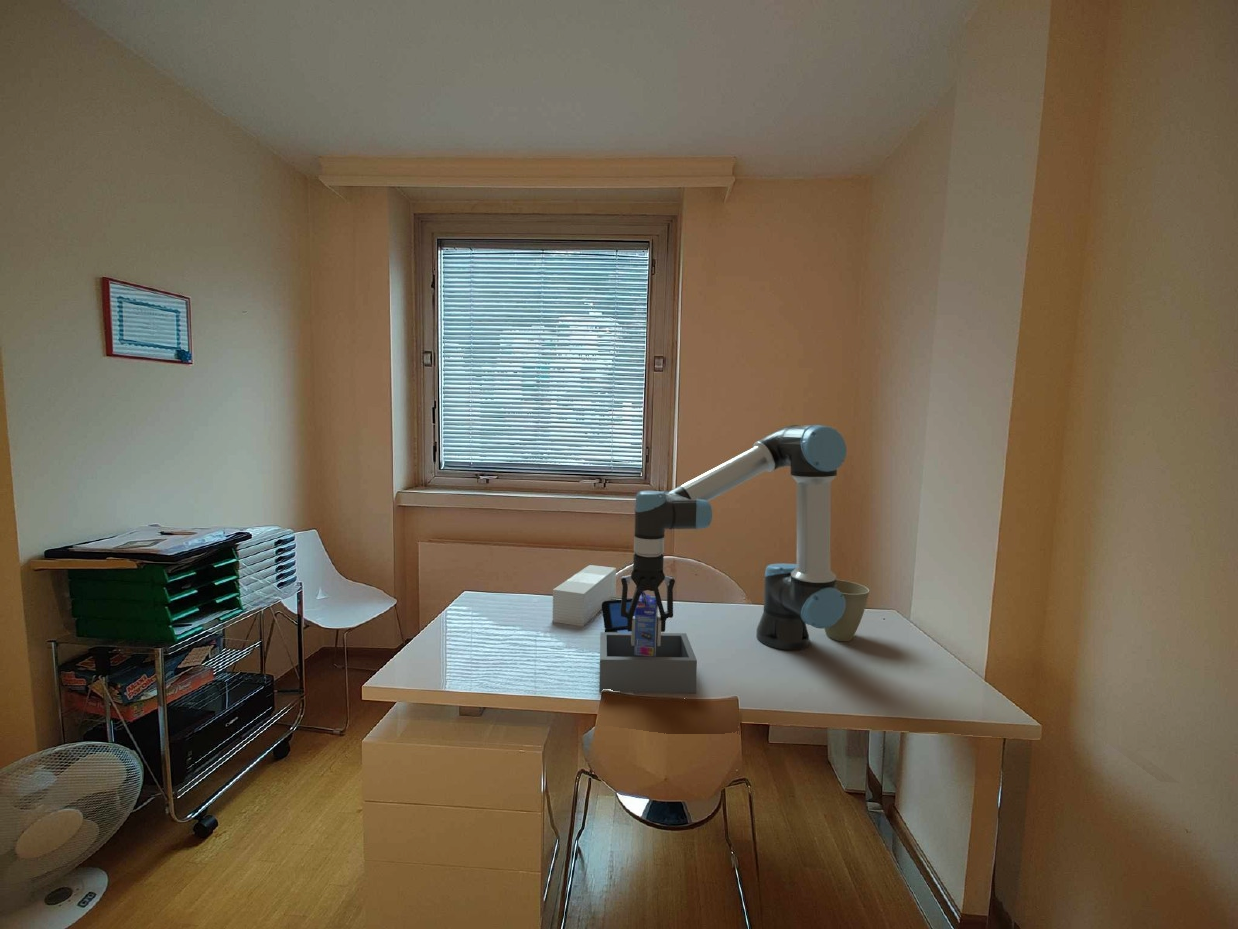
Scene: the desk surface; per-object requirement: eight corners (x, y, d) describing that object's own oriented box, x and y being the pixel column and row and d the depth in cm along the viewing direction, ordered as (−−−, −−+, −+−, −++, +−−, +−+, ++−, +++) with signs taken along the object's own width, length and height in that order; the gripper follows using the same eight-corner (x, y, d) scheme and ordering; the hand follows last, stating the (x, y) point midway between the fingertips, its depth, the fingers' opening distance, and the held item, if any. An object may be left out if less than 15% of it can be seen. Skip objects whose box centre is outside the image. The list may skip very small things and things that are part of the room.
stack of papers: (583, 627, 160) (583, 593, 160) (552, 622, 164) (552, 589, 163) (615, 596, 191) (616, 567, 190) (588, 592, 194) (589, 564, 193)
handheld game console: (614, 648, 146) (615, 616, 145) (599, 630, 158) (600, 601, 158) (663, 641, 151) (664, 611, 151) (646, 624, 164) (646, 596, 163)
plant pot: (860, 651, 147) (863, 597, 146) (807, 637, 156) (810, 586, 155) (870, 635, 159) (874, 585, 158) (821, 623, 168) (824, 576, 167)
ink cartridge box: (635, 639, 134) (638, 585, 133) (656, 641, 133) (660, 587, 132) (632, 655, 124) (636, 597, 123) (655, 658, 123) (659, 599, 122)
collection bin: (685, 662, 137) (686, 633, 137) (695, 693, 121) (696, 660, 121) (599, 661, 137) (600, 632, 136) (599, 692, 121) (600, 659, 120)
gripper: (683, 550, 131) (680, 638, 132) (610, 548, 130) (608, 636, 132) (688, 557, 123) (684, 650, 125) (611, 556, 123) (608, 649, 124)
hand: (645, 643), depth 128 cm, fingers closed on ink cartridge box, 6 cm apart
